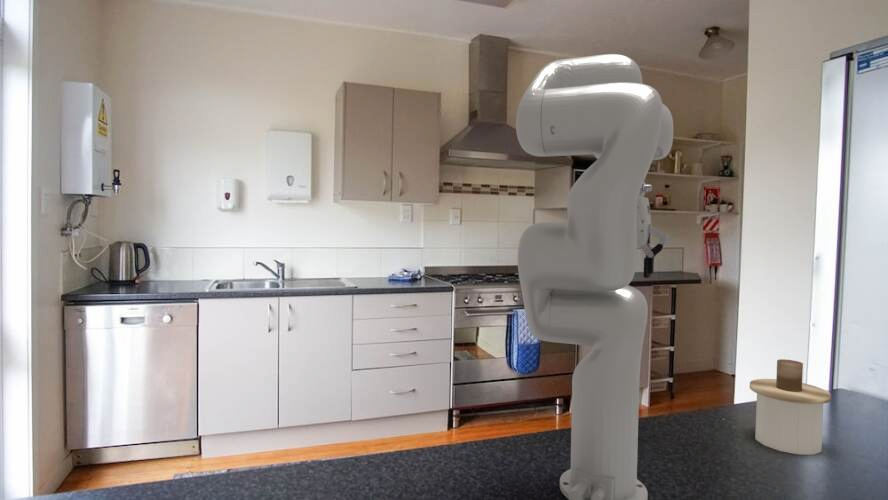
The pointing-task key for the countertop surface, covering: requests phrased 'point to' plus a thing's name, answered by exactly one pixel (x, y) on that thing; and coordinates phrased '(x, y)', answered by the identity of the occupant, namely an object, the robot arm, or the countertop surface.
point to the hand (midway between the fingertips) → (621, 276)
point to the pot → (789, 425)
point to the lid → (790, 385)
